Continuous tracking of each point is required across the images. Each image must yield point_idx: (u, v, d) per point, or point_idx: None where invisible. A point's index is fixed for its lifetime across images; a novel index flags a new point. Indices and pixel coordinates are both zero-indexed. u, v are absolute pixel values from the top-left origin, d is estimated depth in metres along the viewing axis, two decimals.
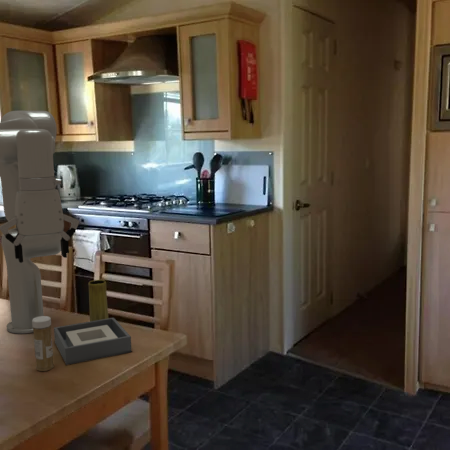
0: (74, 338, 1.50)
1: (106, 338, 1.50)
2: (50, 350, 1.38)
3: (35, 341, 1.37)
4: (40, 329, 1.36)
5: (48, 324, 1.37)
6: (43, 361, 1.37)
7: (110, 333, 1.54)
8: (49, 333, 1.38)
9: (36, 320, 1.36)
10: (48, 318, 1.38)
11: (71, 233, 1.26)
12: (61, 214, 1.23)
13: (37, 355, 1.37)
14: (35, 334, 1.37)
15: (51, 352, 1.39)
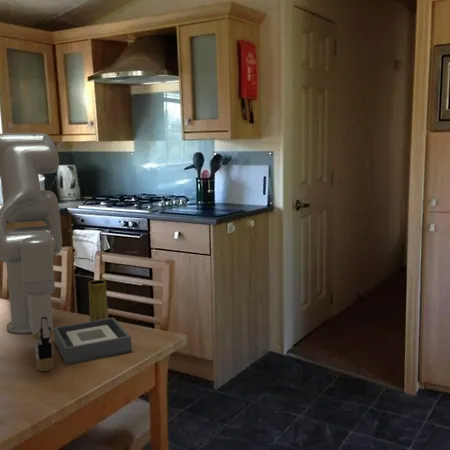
0: (74, 338, 1.50)
1: (106, 338, 1.50)
2: None
3: (35, 341, 1.37)
4: None
5: None
6: (43, 361, 1.37)
7: (110, 333, 1.54)
8: None
9: None
10: None
11: None
12: None
13: (37, 355, 1.37)
14: (35, 334, 1.37)
15: None
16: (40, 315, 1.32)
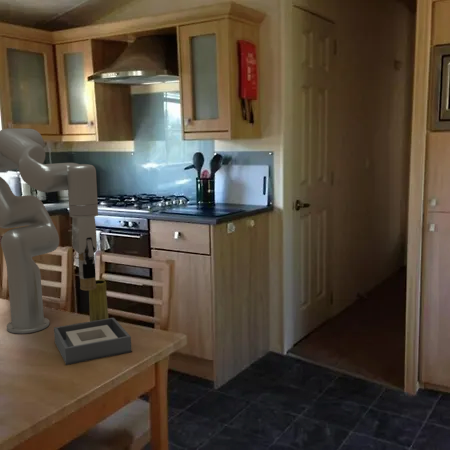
0: (74, 338, 1.50)
1: (106, 338, 1.50)
2: None
3: (80, 262, 1.47)
4: None
5: None
6: (87, 281, 1.48)
7: (110, 333, 1.54)
8: None
9: None
10: None
11: None
12: None
13: (81, 275, 1.48)
14: (80, 255, 1.47)
15: None
16: (86, 235, 1.43)
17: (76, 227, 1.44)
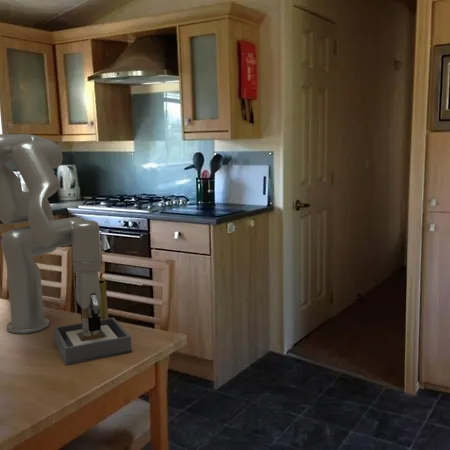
0: (74, 338, 1.50)
1: (106, 338, 1.50)
2: None
3: (83, 320, 1.50)
4: None
5: None
6: (90, 338, 1.51)
7: (110, 333, 1.54)
8: None
9: None
10: None
11: None
12: None
13: (85, 332, 1.51)
14: (83, 313, 1.50)
15: None
16: (90, 291, 1.45)
17: (80, 283, 1.46)
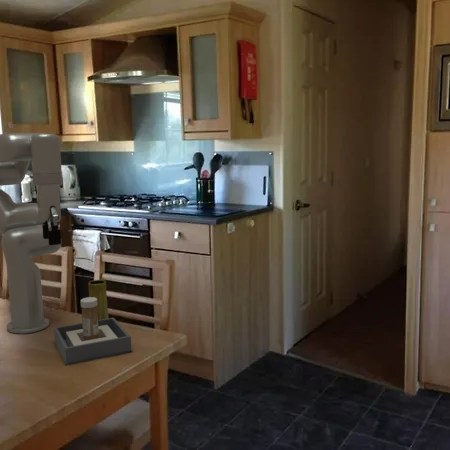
0: (74, 338, 1.50)
1: (106, 338, 1.50)
2: (97, 328, 1.52)
3: (83, 320, 1.50)
4: (88, 309, 1.49)
5: (95, 304, 1.50)
6: (90, 338, 1.51)
7: (110, 333, 1.54)
8: (96, 312, 1.51)
9: (84, 300, 1.50)
10: (95, 299, 1.51)
11: None
12: None
13: (85, 332, 1.51)
14: (83, 313, 1.50)
15: (97, 330, 1.52)
16: (49, 204, 1.43)
17: (39, 196, 1.44)
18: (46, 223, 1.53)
